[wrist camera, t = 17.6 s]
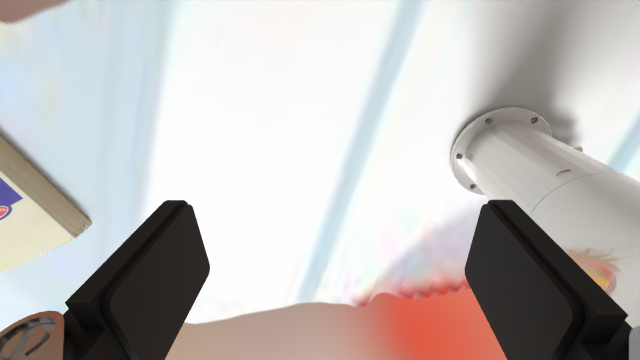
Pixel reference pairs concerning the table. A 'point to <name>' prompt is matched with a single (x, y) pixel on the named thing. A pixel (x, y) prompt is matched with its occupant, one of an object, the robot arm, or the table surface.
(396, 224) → the table surface
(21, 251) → the puzzle box
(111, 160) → the table surface
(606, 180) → the robot arm
